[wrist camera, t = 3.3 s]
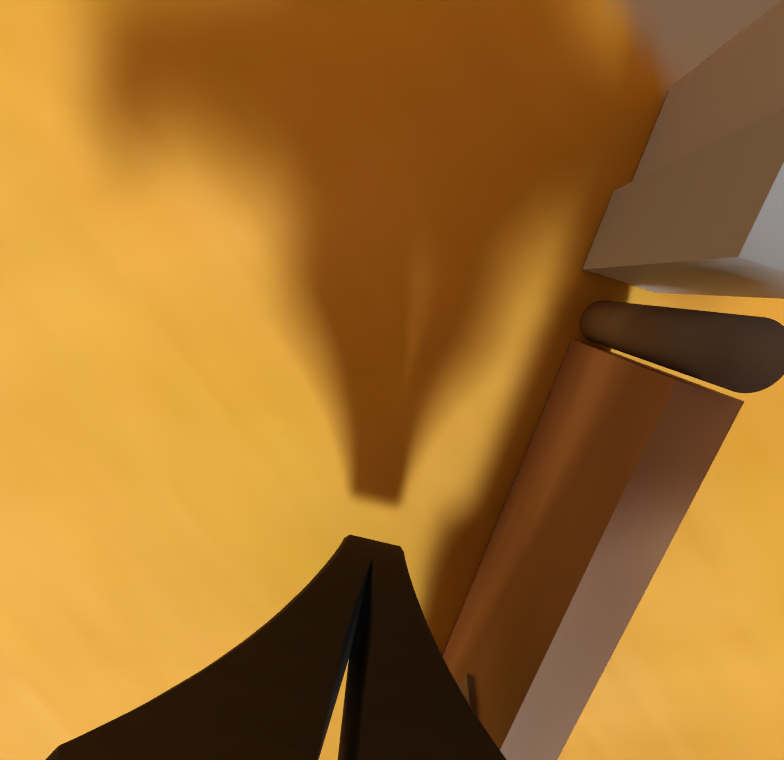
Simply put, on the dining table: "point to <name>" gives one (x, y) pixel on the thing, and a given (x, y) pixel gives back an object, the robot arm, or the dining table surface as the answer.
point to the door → (598, 510)
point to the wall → (708, 180)
